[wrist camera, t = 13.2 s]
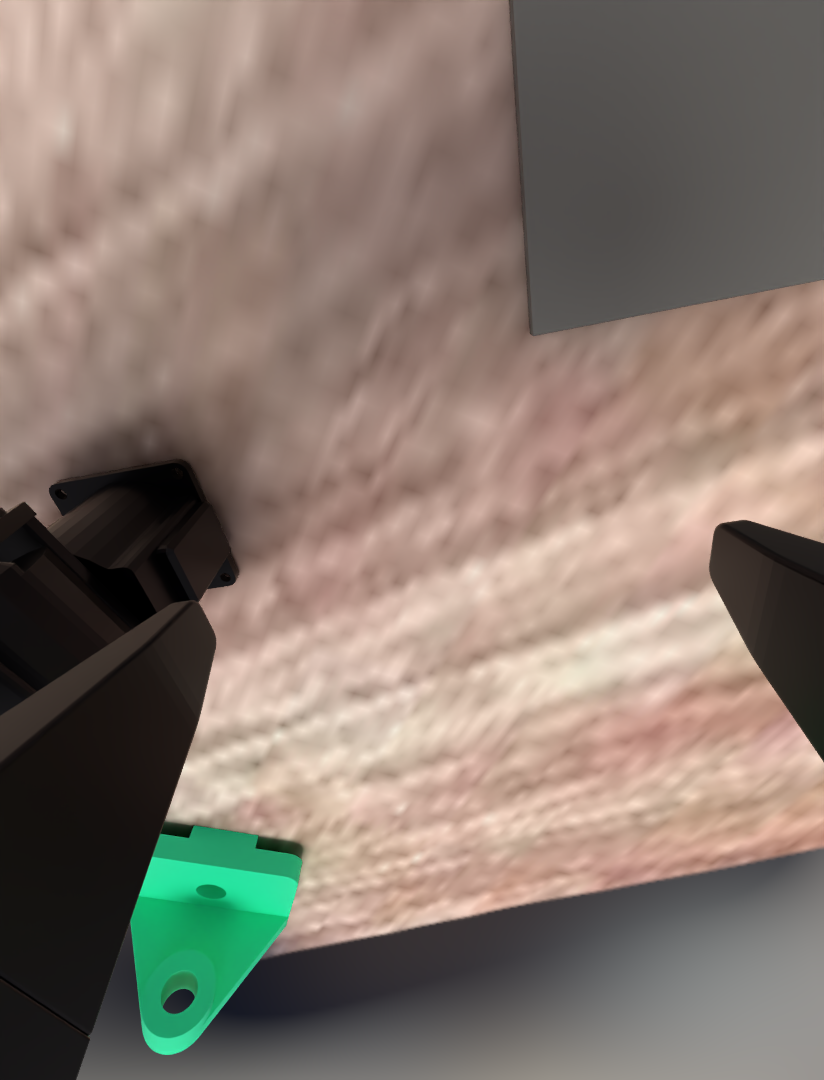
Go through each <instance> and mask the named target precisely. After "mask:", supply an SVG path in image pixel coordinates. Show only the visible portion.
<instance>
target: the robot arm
mask: <svg viewBox="0 0 824 1080" xmlns="http://www.w3.org/2000/svg"><path fill="white" fill-rule="evenodd" d="M175 468H178V469H180V470H181V471H182V472H183V475H179V474H178V473H177V472H176V471H175ZM61 490H63V491H65V493H66V494H67V495H65V494H63V493H62V492H61ZM49 493H50V496H51V497H52V499H53V501H54V502H55V504H56V505H57V507H58V509H59V510H60V512H61V514H62V515H63V517H61V518H60V519H59V520H57V521H56V522H55V523H53V524H52V525H51V526H49V527H48V528H46V527H45V526H44V525H42V524H41V523H40V522H39V521H38V520H37V519H36V518H35V517H34V516H35V515H36V513H35V512H34V511H33V510H32V509H31V508H30V507H29V506H28V505H27V504H26V503H25V502H22V503H20V504H19V505H17V506H15V507H13V508H12V509H10V510H8V511H5V510H3V509H2V508H0V1080H76V1078H77V1076H78V1073H79V1070H80V1067H81V1064H82V1061H83V1058H84V1055H85V1052H86V1049H87V1047H88V1044H89V1041H90V1037H89V1036H88V1035H90V1034H91V1033H92V1031H93V1028H94V1025H95V1022H96V1019H97V1016H98V1013H99V1011H100V1008H101V1005H102V1002H103V999H104V996H105V993H106V990H107V987H108V984H109V982H110V978H111V976H112V973H113V970H114V967H115V964H116V961H117V958H118V955H119V952H120V950H121V947H122V944H123V941H124V938H125V935H126V932H127V929H128V926H129V923H130V920H131V918H132V915H133V912H134V909H135V906H136V903H137V900H138V897H139V894H140V891H141V888H142V886H143V883H144V880H145V877H146V874H147V871H148V868H149V865H150V862H151V859H152V856H153V853H154V851H155V848H156V845H157V842H158V839H159V836H160V833H161V830H162V827H163V824H164V821H165V819H166V816H167V813H168V810H169V807H170V804H171V801H172V798H173V795H174V792H175V789H176V787H177V784H178V781H179V778H180V775H181V772H182V769H183V766H184V763H185V760H186V757H187V755H188V752H189V749H190V746H191V743H192V740H193V737H194V734H195V731H196V728H197V725H198V721H199V718H200V714H201V710H202V706H203V702H204V697H205V693H206V689H207V684H208V680H209V675H210V671H211V667H212V662H213V658H214V654H215V649H216V636H215V633H214V631H213V629H212V627H211V625H210V623H209V621H208V619H207V617H206V615H205V613H204V611H203V609H202V607H201V606H200V604H199V601H200V599H201V598H202V596H203V595H204V593H205V591H206V590H207V589H211V588H217V587H224V586H230V585H233V584H234V583H235V582H236V580H237V578H238V575H239V574H238V570H237V568H236V566H235V564H234V561H233V559H232V557H231V555H230V551H231V548H230V546H229V544H228V542H227V539H226V537H225V535H224V533H223V530H222V528H221V526H220V523H219V521H218V519H217V517H216V514H215V512H214V510H213V508H212V506H211V505H210V504H209V503H208V502H207V501H206V499H205V496H204V494H203V492H202V490H201V487H200V485H199V483H198V481H197V478H196V476H195V474H194V472H193V470H192V468H191V466H190V465H189V464H188V463H187V462H186V461H184V460H181V459H176V460H170V461H165V462H159V463H154V464H148V465H142V466H137V467H131V468H126V469H120V470H115V471H109V472H104V473H98V474H93V475H87V476H82V477H76V478H71V479H65V480H60V481H58V482H56V483H55V484H53V485H51V487H50V488H49ZM709 572H710V576H711V579H712V581H713V583H714V585H715V587H716V589H717V591H718V593H719V595H720V597H721V599H722V601H723V602H724V604H725V606H726V608H727V610H728V612H729V614H730V616H731V618H732V620H733V622H734V623H735V625H736V627H737V629H738V631H739V633H740V635H741V637H742V639H743V641H744V643H745V644H746V646H747V648H748V650H749V652H750V653H751V655H752V657H753V658H754V660H755V661H756V663H757V665H758V666H759V668H760V669H761V671H762V672H763V674H764V675H765V677H766V678H767V680H768V681H769V682H770V684H771V685H772V687H773V688H774V690H775V691H776V693H777V694H778V696H779V697H780V699H781V700H782V702H783V703H784V704H785V706H786V707H787V709H788V710H789V712H790V713H791V715H792V716H793V718H794V719H795V721H796V722H797V724H798V725H799V726H800V728H801V729H802V731H803V732H804V734H805V735H806V737H807V738H808V740H809V741H810V743H811V744H812V746H813V747H814V748H815V750H816V751H817V753H818V754H819V756H820V757H821V759H822V760H823V762H824V543H821V542H818V541H814V540H811V539H808V538H804V537H801V536H798V535H794V534H791V533H788V532H785V531H781V530H778V529H775V528H771V527H768V526H765V525H761V524H758V523H755V522H751V521H748V520H740V521H733V522H726V523H721V524H719V525H718V526H717V527H716V528H715V531H714V535H713V542H712V549H711V556H710V563H709ZM223 573H227V574H229V575H230V577H227V576H225V575H224V574H223Z"/></svg>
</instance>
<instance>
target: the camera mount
mask: <svg viewBox="0 0 824 1080" xmlns="http://www.w3.org/2000/svg"><path fill="white" fill-rule="evenodd" d="M257 840H258V835H252V834H246V833H239V832H233V831H227V830H220V829H214V828H208V827H201V826H195V825H194V827H193V829H192V832H191V834H190V837H189V838H185V837H178V836H172V835H165V834H160V836H159V839H158V842H157V845H156V848H155V851H154V853H153V856H152V859H151V862H150V865H149V868H148V871H147V874H146V877H145V880H144V883H143V886H142V888H141V891H140V894H139V897H138V900H137V903H136V906H135V909H134V912H133V915H132V918H131V920H130V922H131V931H132V940H133V949H134V958H135V967H136V976H137V986H138V994H139V1003H140V1013H141V1022H142V1031H143V1036H144V1038H145V1041H146V1043H147V1044H148V1046H149V1047H150V1048H151V1049H152V1050H153V1051H155V1052H157V1053H160V1054H164V1055H170V1054H175V1053H178V1052H181V1051H183V1050H185V1049H186V1048H187V1047H189V1046H190V1045H192V1044H193V1043H194V1042H195V1041H196V1040H197V1039H198V1037H199V1036H200V1035H201V1034H202V1032H203V1031H204V1030H205V1029H206V1027H207V1026H208V1025H209V1024H210V1022H211V1021H212V1020H213V1018H214V1017H215V1016H216V1015H217V1013H218V1012H219V1011H220V1009H221V1008H222V1007H223V1006H224V1004H225V1003H226V1001H228V999H229V998H230V997H231V995H232V994H233V993H234V992H235V990H236V989H237V988H238V986H239V985H240V984H241V983H242V981H243V980H244V979H245V978H246V976H247V975H248V974H249V972H250V971H251V970H252V969H253V967H254V966H255V965H256V964H257V962H258V961H259V960H260V958H261V957H262V956H263V955H264V953H265V952H266V951H267V949H268V948H269V947H270V946H271V944H272V943H273V942H274V941H275V939H276V938H277V937H278V935H279V934H280V933H281V932H282V930H283V929H284V928H285V927H286V924H287V921H288V917H289V914H290V910H291V907H292V904H293V900H294V897H295V893H296V890H297V886H298V881H299V876H300V871H301V866H302V860H301V859H300V858H299V857H298V856H296V855H293V854H288V853H282V852H275V851H269V850H262V849H256V846H257ZM183 988H184V989H189V990H191V991H192V992H193V994H194V995H195V999H194V1001H193V1003H192V1004H191V1005H190V1006H189V1008H187V1009H186V1010H185V1011H183V1012H181V1013H179V1014H169V1013H167V1012H166V1011H165V1010H164V1009H163V1004H164V1002H165V1001H166V999H167V998H168V997H169V995H170V994H172V993H173V992H174V991H176V990H179V989H183Z"/></svg>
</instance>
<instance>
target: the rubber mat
mask: <svg viewBox="0 0 824 1080" xmlns="http://www.w3.org/2000/svg"><path fill="white" fill-rule="evenodd" d="M509 5H510V21H511V37H512V53H513V69H514V85H515V101H516V117H517V132H518V148H519V164H520V180H521V196H522V212H523V228H524V244H525V260H526V276H527V292H528V308H529V324H530V334H531V335H532V336H536V335H542V334H547V333H552V332H557V331H562V330H567V329H572V328H578V327H583V326H588V325H593V324H598V323H603V322H608V321H614V320H619V319H624V318H629V317H634V316H639V315H644V314H650V313H655V312H660V311H665V310H670V309H675V308H681V307H686V306H691V305H696V304H701V303H706V302H711V301H717V300H722V299H727V298H732V297H737V296H742V295H747V294H753V293H758V292H763V291H768V290H773V289H778V288H783V287H789V286H794V285H799V284H804V283H809V282H814V281H819V280H824V0H509Z"/></svg>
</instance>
